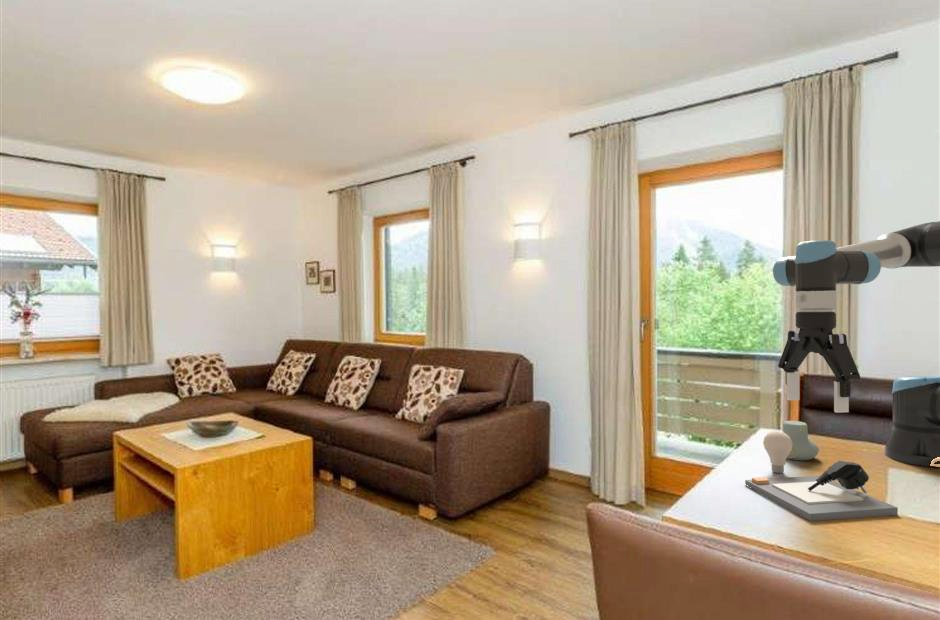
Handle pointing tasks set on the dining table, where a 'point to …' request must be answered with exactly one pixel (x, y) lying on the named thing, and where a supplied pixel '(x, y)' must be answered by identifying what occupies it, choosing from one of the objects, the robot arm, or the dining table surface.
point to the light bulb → (777, 449)
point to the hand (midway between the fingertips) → (815, 405)
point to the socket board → (820, 498)
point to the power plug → (844, 476)
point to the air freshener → (800, 441)
